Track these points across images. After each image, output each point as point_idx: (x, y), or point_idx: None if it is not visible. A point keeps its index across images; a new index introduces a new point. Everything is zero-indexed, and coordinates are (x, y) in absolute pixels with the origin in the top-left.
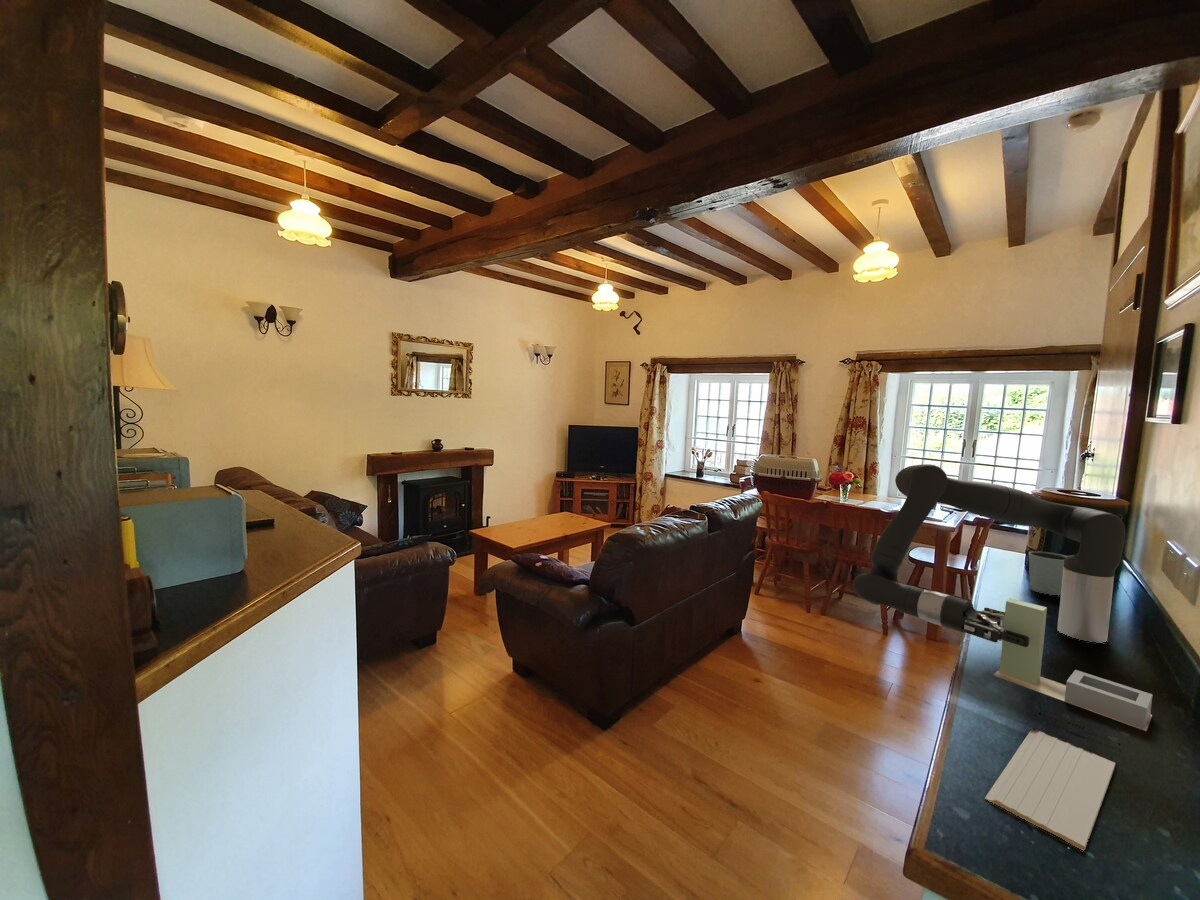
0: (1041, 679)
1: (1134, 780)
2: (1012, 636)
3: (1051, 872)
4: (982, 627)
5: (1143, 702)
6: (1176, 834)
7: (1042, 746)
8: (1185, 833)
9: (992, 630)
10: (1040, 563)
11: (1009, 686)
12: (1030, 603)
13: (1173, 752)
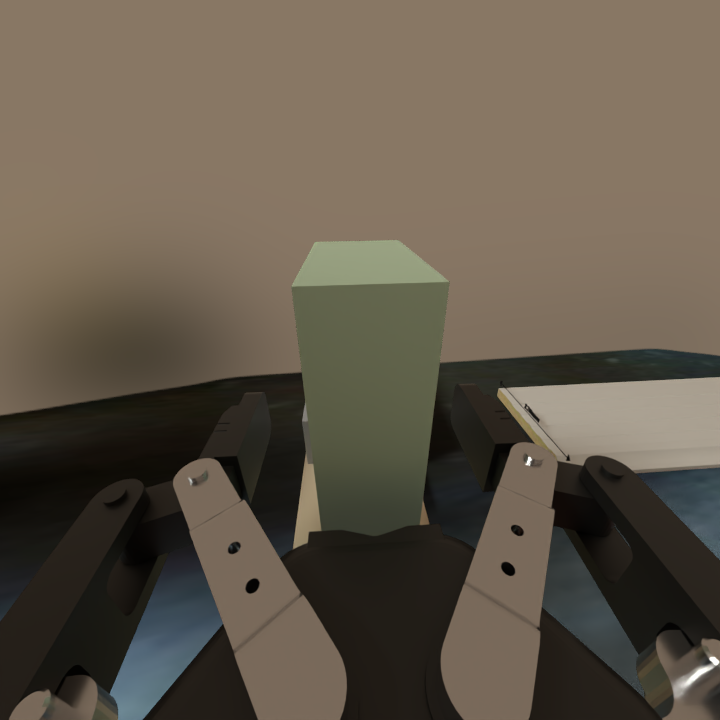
0: (317, 523)
1: (546, 380)
2: (512, 427)
3: None
4: (699, 547)
5: None
6: (599, 356)
7: (663, 438)
8: (586, 354)
9: (638, 478)
10: None
11: None
12: (313, 254)
13: None
